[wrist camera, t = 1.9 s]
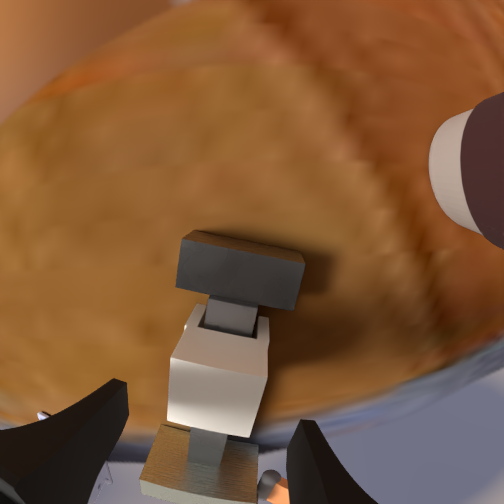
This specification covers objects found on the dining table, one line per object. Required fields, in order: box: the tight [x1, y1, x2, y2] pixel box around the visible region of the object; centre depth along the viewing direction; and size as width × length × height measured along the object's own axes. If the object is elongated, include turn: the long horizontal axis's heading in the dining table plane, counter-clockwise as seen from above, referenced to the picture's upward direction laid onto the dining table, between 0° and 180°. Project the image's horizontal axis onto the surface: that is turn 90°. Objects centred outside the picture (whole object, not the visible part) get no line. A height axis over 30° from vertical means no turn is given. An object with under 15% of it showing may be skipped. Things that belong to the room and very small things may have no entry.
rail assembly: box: [139, 230, 306, 504], centre depth 16 cm, size 18×8×6 cm, turn 169°
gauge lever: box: [257, 470, 290, 504], centre depth 16 cm, size 3×8×1 cm, turn 79°
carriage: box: [167, 303, 269, 438], centre depth 15 cm, size 4×4×6 cm
